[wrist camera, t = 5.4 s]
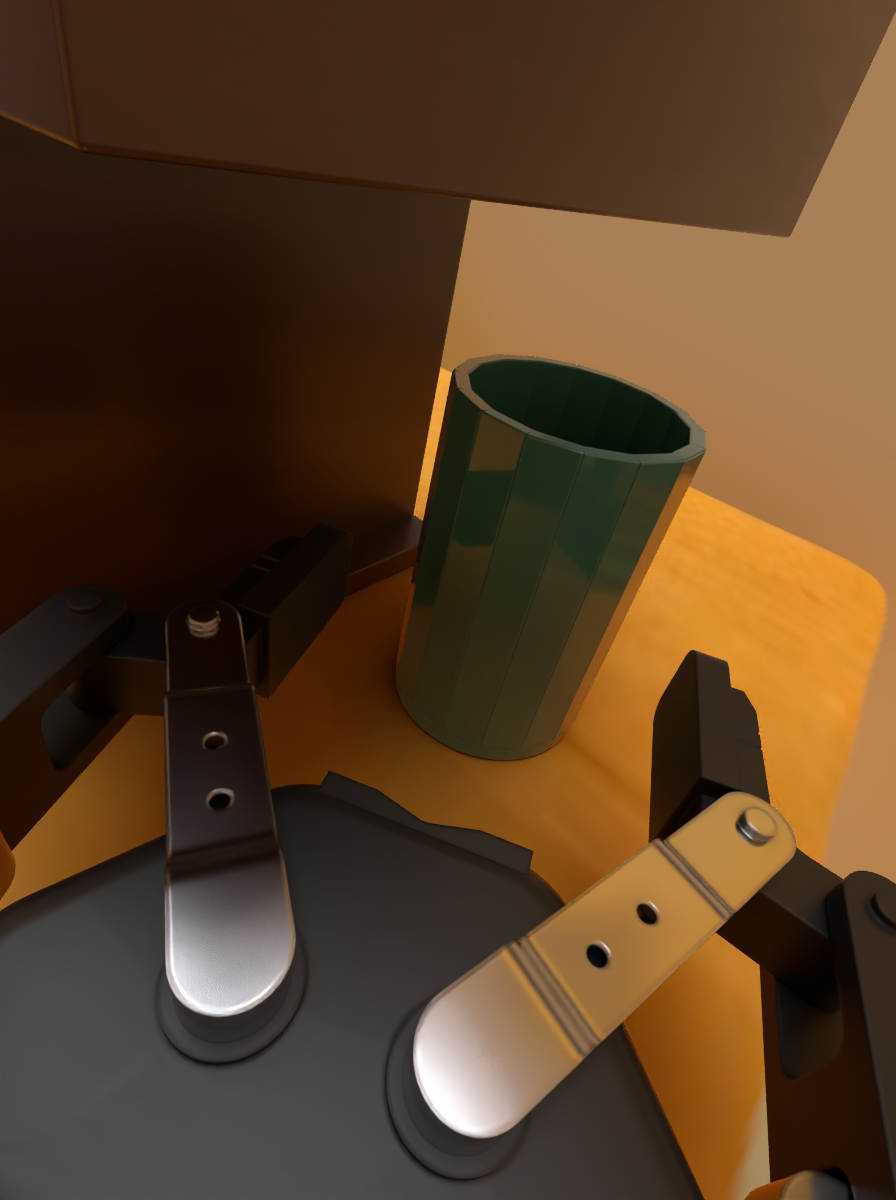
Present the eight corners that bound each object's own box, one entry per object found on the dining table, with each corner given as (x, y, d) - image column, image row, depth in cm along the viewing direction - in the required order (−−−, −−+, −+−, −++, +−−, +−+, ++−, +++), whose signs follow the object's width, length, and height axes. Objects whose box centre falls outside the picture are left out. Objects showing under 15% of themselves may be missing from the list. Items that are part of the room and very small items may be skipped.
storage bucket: (356, 672, 20) (399, 368, 14) (474, 604, 24) (547, 346, 18) (499, 798, 17) (631, 489, 11) (605, 697, 21) (743, 430, 15)
